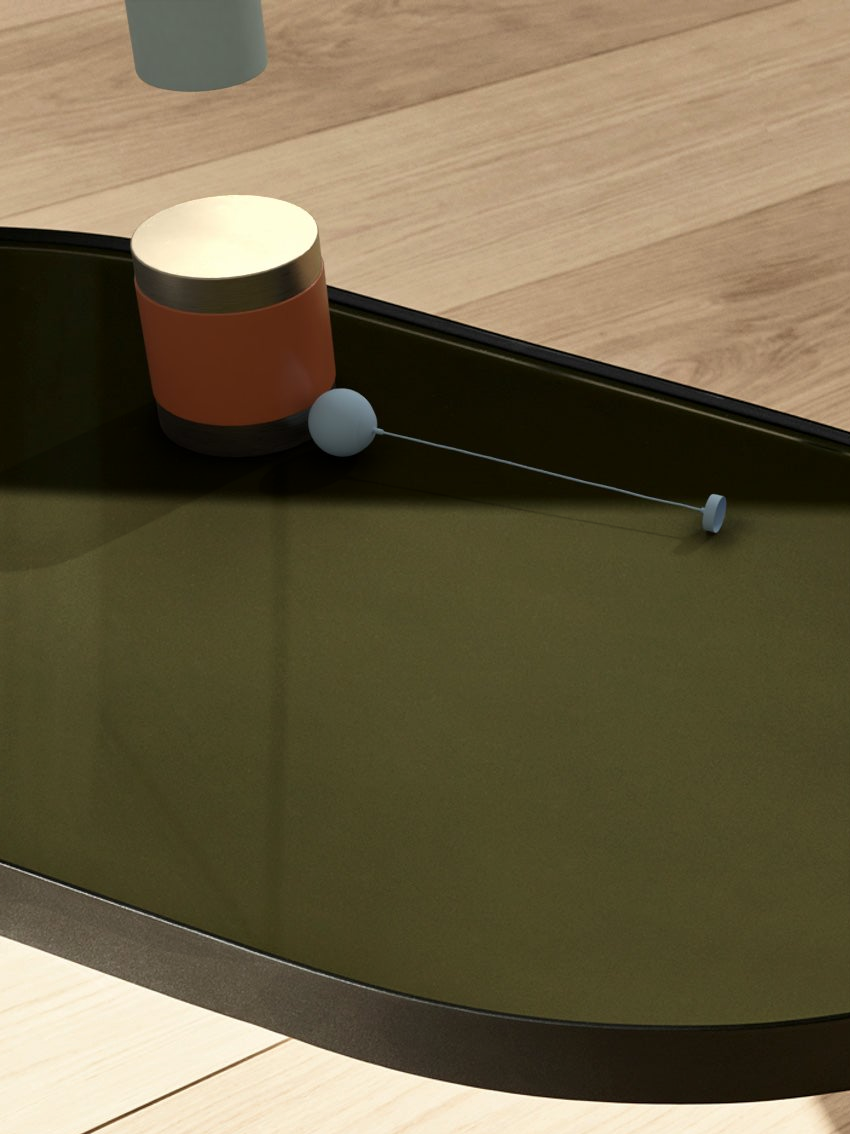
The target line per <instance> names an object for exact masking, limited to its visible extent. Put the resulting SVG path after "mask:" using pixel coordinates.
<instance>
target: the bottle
mask: <svg viewBox="0 0 850 1134" xmlns="http://www.w3.org/2000/svg"><path fill="white" fill-rule="evenodd" d="M124 5H125V11H126V16H127V17H126V19H127V24H128V31H129V37H130V43H131V44H130V45H131V50H132V56H133V62H134V70H135V73H136V75H137V77H138V78H139V80H141V82H143V83H145V84H147V85H149V86H151V87H154V88H157V89H160V90H165V91H171V92H185V93H200V92H210V91H217V90H223V89H227V88H232V87H235V86H239V85H242V84H244V83H248V82H249V81H251V80H253V79H255V78H256V77H258V76H260V75H261V74H262V73H263V72H264V71H265V70H266V68H267V66H268V63H269V57H268V49H267V40H266V31H265V23H264V15H263V6H262V0H124Z"/></svg>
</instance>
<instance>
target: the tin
mask: <svg viewBox="0 0 850 1134" xmlns="http://www.w3.org/2000/svg"><path fill="white" fill-rule="evenodd" d="M129 248H130V253H131V259H132V265H133V270H134V271H133V272H134V278H133V282H134V288H135V294H136V300H137V307H138V312H139V317H140V323H141V330H142V335H143V342H144V348H145V354H146V360H147V367H148V372H149V378H150V383H151V384H150V385H151V389H152V394H153V397H154V398H155V404H156V409H157V416H158V422H159V425H160V427H161V430H162V432H163V433H164V435H165V436H166V437H167V438H168V439H169V440H170V441H171V442H173V443H174V444H176V445H177V446H179V447H181V448H183V449H185V450H188V451H190V452H194V453H197V454H200V455H206V456H209V457H210V456H212V457H218V458H253V457H254V458H255V457H260V456H268V455H273V454H277V453H280V452H285V451H287V450H288V451H289V450H291V449H294V448H296V447H299V446H302V445H303V444H305V443H307V442H309V441H311V440H313V438H312V436H311V434H310V431H309V425H308V418H309V413H310V410H311V408H312V406H313V404H314V402H315V401H316V400H317V399H318V398H319V397H320V396H321V395H322V394H324V393H326V392H328V391H330V390H334V389H337V385H336V376H337V373H336V371H337V370H336V362H335V352H334V342H333V334H332V323H331V315H330V305H329V296H328V288H327V287H328V285H327V278H326V269H325V261H324V258H323V256H322V248H321V239H320V229H319V225H318V223H317V220H316V219H315V218H314V217H313V215H312V214H310V213H309V212H308V211H306V209H304V208H302V207H300V206H298V205H297V204H294V203H291V202H289V201H286V200H283V199H279V198H275V197H268V196H261V195H252V194H251V195H249V194H248V195H247V194H228V195H217V196H216V195H215V196H209V197H207V196H206V197H201V198H196V199H192V200H188V201H183V202H181V203H177V204H175V205H171V206H169V207H167V208H163V209H162V210H160V211H158V212H156V213H153V215H151V216H149V217H147V218H146V219H145V220H144V221H142V222H141V223H140V224H139V225H138V226H137V227H136V229H135V230H134V232H133V233H132V235H131V238H130V243H129Z"/></svg>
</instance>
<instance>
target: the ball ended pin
mask: <svg viewBox="0 0 850 1134" xmlns="http://www.w3.org/2000/svg"><path fill="white" fill-rule="evenodd" d="M308 425H309V431H310V434H311V436H312V438H313V439H312V440H313V442H314V443H315V444H316V445H317V447H318V448H319V449H321V450H322V451H323V452H325V453H326V454H329V455H331V456H335V457H342V458H343V457H350V456H351V457H352V456H354V455H357V454H359V453H360V452H362V451H363V450H365V449H366V448H367V447H368V446H369V445H371V443H372V442H373V440H374V438H375V436H376V435H380V436H382V435H387V436H390V437H391V436H392V437H396V438H401V439H405V440H408V441H413V442H417V443H422V444H425V445H429V446H433V447H437V448H442V449H445V450H451V451H455V452H460V453H463V454H467V455H471V456H475V457H478V458H483V459H488V460H491V461H495V462H499V463H503V464H508V465H511V466H516V467H519V468H522V469H527V470H531V471H534V472H539V473H543V474H547V475H549V476H553V477H558V478H562V479H566V480H569V481H574V482H577V483H582V484H586V485H590V486H595V487H599V488H604V489H608V490H613V491H616V492H620V493H623V494H628V495H631V496H635V497H639V498H642V499H646V500H651V501H656V502H660V503H665V504H669V505H674V506H678V507H684V508H688V509H690V510H695V511H699V512H700V513H701V514H702V523H701V524H702V529H703V530H704V531H707V532H710V533H715V534H716V533H718V532H719V531H720V529H721V527H722V525H723V523H724V520H725V516H726V511H727V499H726V497H725V496H724V495H719V494H715V493H712V494H710V496H709V497H708V499H707V501H706V504H705V507H701V508H699V507H695V506H691V505H688V504H683V503H680V502H675V501H669V500H664V499H660V498H655V497H650V496H646V495H643V494H640V493H639V494H638V493H636V492H631V491H627V490H623V489H621V488H620V489H619V488H616V487H612V486H607V485H604V484H599V483H595V482H590V481H585V480H581V479H578V478H574V477H570V476H566V475H562V474H558V473H554V472H550V471H548V470H547V471H546V470H543V469H538V468H534V467H530V466H526V465H523V464H519V463H515V462H512V461H508V460H504V459H499V458H495V457H492V456H487V455H483V454H479V453H475V452H470V451H467V450H463V449H459V448H455V447H451V446H447V445H441V444H437V443H433V442H429V441H425V440H421V439H417V438H413V437H408V436H404V435H399V434H396V433H391V432H387V431H384V429H381V428H378V419H377V416H376V413H375V411H374V409H373V407H372V405H371V403H370V402H369V401H368V399H366V398H365V397H364V396H363V395H361V394H360V393H359V392H357V391H355V390H352V389H349V388H336V389H334V390H330V391H328V392H326V393H324V394H322V395H321V396H320V397H319V398H318V399H317V400H316V401H315V402H314V404H313V406H312V408H311V410H310V413H309V418H308Z"/></svg>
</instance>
